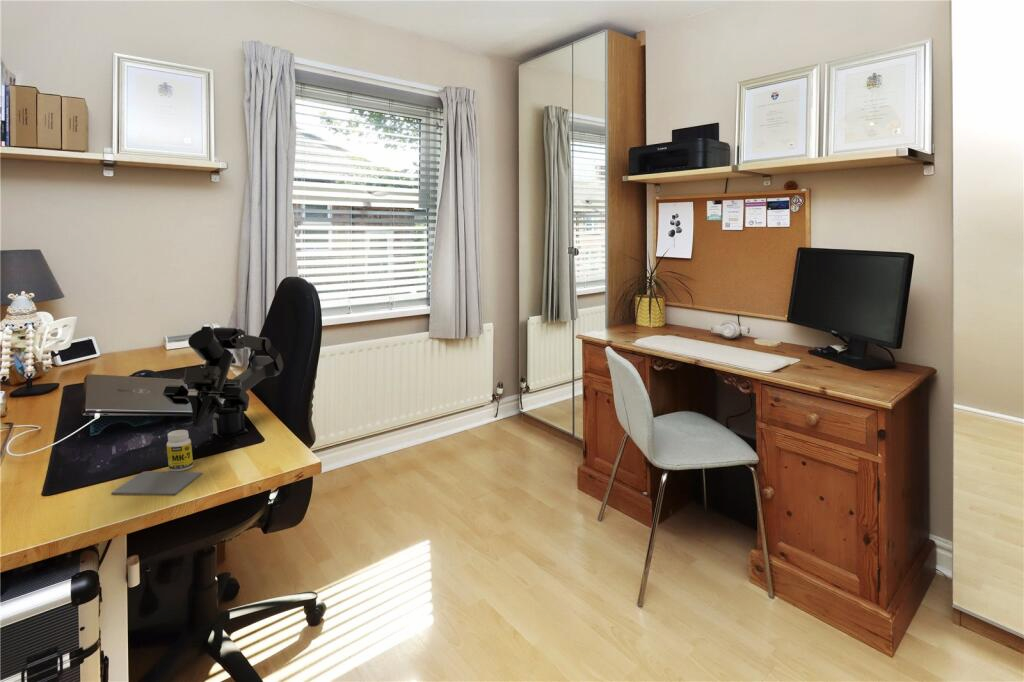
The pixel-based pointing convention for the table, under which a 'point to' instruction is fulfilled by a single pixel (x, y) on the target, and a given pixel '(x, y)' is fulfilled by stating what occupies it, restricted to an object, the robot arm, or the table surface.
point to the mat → (157, 483)
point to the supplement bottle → (179, 450)
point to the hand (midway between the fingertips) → (195, 427)
